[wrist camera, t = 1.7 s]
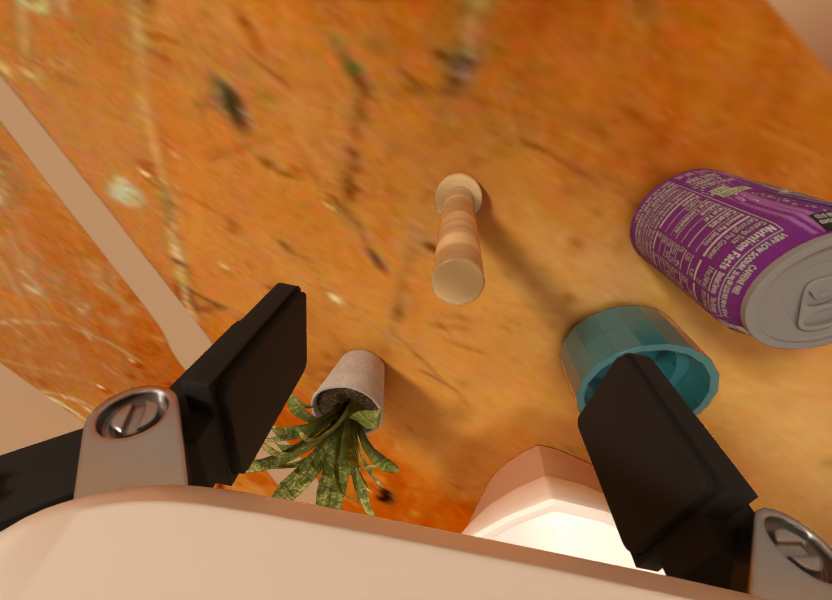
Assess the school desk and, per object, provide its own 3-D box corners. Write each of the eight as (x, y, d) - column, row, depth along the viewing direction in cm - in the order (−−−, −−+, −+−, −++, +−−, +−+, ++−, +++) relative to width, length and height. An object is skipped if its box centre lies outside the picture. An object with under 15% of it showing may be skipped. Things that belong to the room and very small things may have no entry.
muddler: (440, 167, 25) (422, 233, 13) (486, 177, 25) (514, 252, 13) (431, 213, 27) (408, 309, 15) (474, 222, 27) (488, 326, 15)
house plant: (340, 278, 31) (244, 420, 17) (454, 352, 34) (451, 524, 20) (282, 363, 38) (179, 515, 24) (381, 419, 41) (342, 582, 27)
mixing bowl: (585, 291, 29) (611, 332, 24) (700, 314, 29) (752, 360, 24) (542, 374, 34) (557, 421, 29) (639, 394, 34) (671, 445, 29)
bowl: (523, 391, 36) (545, 488, 27) (694, 472, 40) (763, 581, 31) (422, 488, 48) (414, 578, 39) (561, 543, 52) (582, 637, 43)
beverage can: (735, 238, 25) (920, 331, 15) (634, 272, 28) (736, 372, 17) (730, 148, 22) (957, 188, 12) (617, 194, 25) (729, 260, 14)
